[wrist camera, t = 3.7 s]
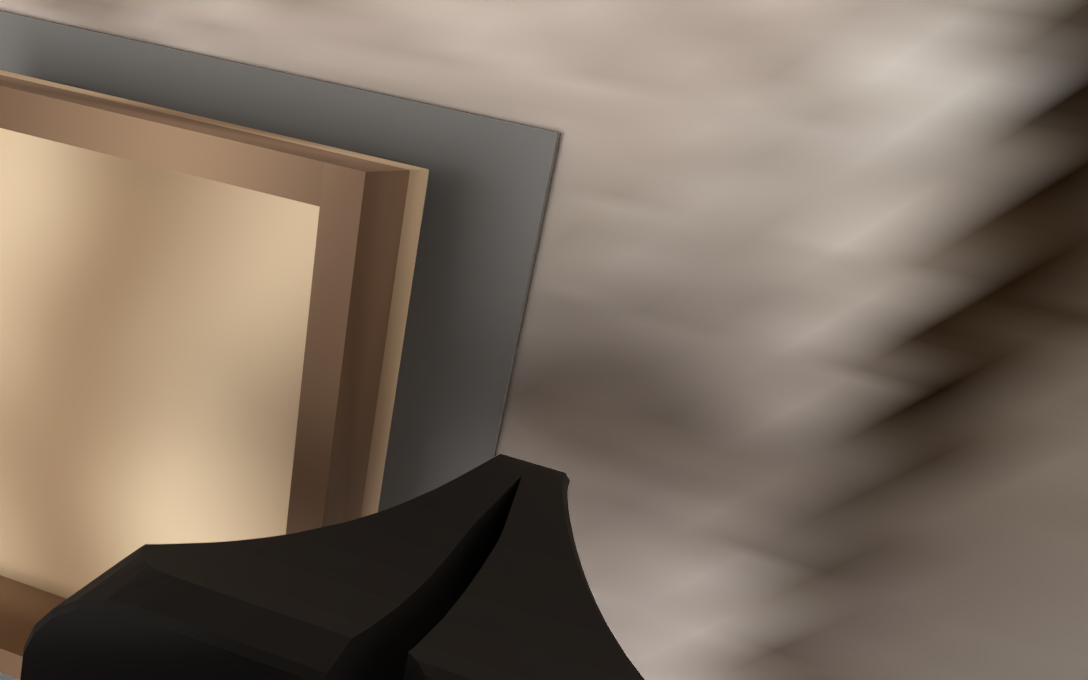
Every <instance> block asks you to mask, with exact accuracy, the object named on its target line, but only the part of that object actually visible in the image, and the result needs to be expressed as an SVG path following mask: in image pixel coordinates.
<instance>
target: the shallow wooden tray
mask: <svg viewBox="0 0 1088 680" xmlns="http://www.w3.org/2000/svg"><path fill="white" fill-rule="evenodd" d="M429 179H430V171H429V169H425V168H422V167H419V166H415V165H412V164H408V163H405V162H401V161H396V160H392V159H388V158H383V157H379V156H374V155H369V154H363V153H358V152H352V151H348V150H343V149H339V148H335V147H330V146H326V145H322V144H317V143H313V142H309V141H304V140H300V139H296V138H292V137H287V136H283V135H279V134H274V133H270V132H266V131H261V130H257V129H253V128H248V127H244V126H240V125H235V124H231V123H227V122H223V121H218V120H214V119H210V118H205V117H201V116H197V115H192V114H188V113H184V112H179V111H175V110H171V109H167V108H162V107H158V106H154V105H149V104H145V103H141V102H136V101H132V100H128V99H123V98H119V97H115V96H111V95H106V94H102V93H98V92H93V91H90V90H88V89H85V88H81V87H77V86H73V85H69V84H64V83H59V82H55V81H50V80H44V79H39V78H34V77H29V76H24V75H20V74H16V73H11V72H7V71H3V70H0V673H3V674H5V675H8V676H11V677H13V678H16V679H19V680H20V677H21V668H22V659H23V650H24V645H25V643H26V641H27V639H28V637H29V635H30V633H31V631H32V629H33V627H34V625H35V624H36V623H37V622H39V621H40V620H41V619H42V618H43V617H44V616H45V615H46V614H48V613H49V612H50V611H51V610H52V609H53V608H55V607H56V606H58V605H59V604H60V603H62V602H63V601H65V600H66V599H67V598H69V597H70V596H72V595H73V594H74V593H76V592H77V591H79V590H80V589H82V588H83V587H84V586H86V585H87V584H89V583H90V582H91V581H93V580H94V579H96V578H97V577H98V576H100V575H101V574H103V573H104V572H105V571H107V570H108V569H110V568H111V567H113V566H114V565H115V564H117V563H118V562H120V561H121V560H123V559H124V558H125V557H127V556H128V555H130V554H131V553H133V552H134V551H136V550H137V549H139V548H140V547H142V546H143V545H145V544H180V543H208V542H226V541H238V540H247V539H256V538H265V537H272V536H279V535H286V534H292V533H298V532H302V531H307V530H312V529H316V528H321V527H325V526H330V525H335V524H339V523H344V522H347V521H351V520H355V519H358V518H361V517H365V516H368V515H371V514H374V513H378V506H379V500H380V493H381V486H382V480H383V473H384V466H385V460H386V453H387V447H388V440H389V433H390V427H391V420H392V413H393V407H394V400H395V393H396V387H397V380H398V373H399V367H400V360H401V353H402V347H403V340H404V334H405V327H406V320H407V314H408V307H409V300H410V294H411V287H412V280H413V274H414V267H415V260H416V254H417V247H418V241H419V234H420V227H421V226H422V224H423V218H424V212H425V205H426V198H427V192H428V185H429Z"/></svg>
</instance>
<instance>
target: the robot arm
mask: <svg viewBox="0 0 1088 680" xmlns="http://www.w3.org/2000/svg"><path fill="white" fill-rule="evenodd" d="M568 485H569V479H568V477H567V475H566V473H563V472H560V471H557V470H553V469H550V468H546V467H543V466H540V465H536V464H533V463H529V462H526V461H523V460H519V459H516V458H512V457H509V456H506V455H502V454H500V455H498V456H496V457H494V458H492V459H490V460H488V461H486V462H485V463H483V464H481V465H479V466H477V467H476V468H474V469H472V470H470V471H468V472H467V473H465V474H463V475H461V476H459V477H458V478H456V479H454V480H452V481H450V482H448V483H446V484H444V485H442V486H440V487H438V488H436V489H434V490H432V491H429V492H427V493H425V494H423V495H420V496H418V497H416V498H413V499H411V500H409V501H407V502H404V503H402V504H400V505H397V506H394V507H392V508H389V509H386V510H383V511H380V512H378V513H374V514H371V515H368V516H365V517H361V518H358V519H355V520H351V521H347V522H344V523H339V524H335V525H330V526H325V527H321V528H316V529H312V530H307V531H302V532H298V533H292V534H286V535H279V536H272V537H265V538H256V539H247V540H238V541H226V542H208V543H180V544H145V545H143V546H142V547H140V548H139V549H137V550H136V551H134V552H133V553H131V554H130V555H128V556H127V557H125V558H124V559H123V560H121V561H120V562H118V563H117V564H115V565H114V566H113V567H111V568H110V569H108V570H107V571H105V572H104V573H103V574H101V575H100V576H98V577H97V578H96V579H94V580H93V581H91V582H90V583H89V584H87V585H86V586H84V587H83V588H82V589H80V590H79V591H77V592H76V593H74V594H73V595H72V596H70V597H69V598H67V599H66V600H65V601H63V602H62V603H60V604H59V605H58V606H56V607H55V608H53V609H52V610H51V611H50V612H49V613H48V614H46V615H45V616H44V617H43V618H42V619H41V620H40V621H39V622H37V623H36V624H35V625H34V627H33V629H32V631H31V633H30V635H29V637H28V639H27V641H26V643H25V645H24V650H23V659H22V668H21V677H20V680H644V679H643V677H642V676H641V675H640V673H639V672H638V671H637V669H636V668H635V667H634V665H633V664H632V663H631V661H630V660H629V659H628V657H627V656H626V655H625V653H624V651H623V650H622V648H621V647H620V645H619V643H618V642H617V640H616V639H615V637H614V635H613V634H612V632H611V631H610V629H609V627H608V626H607V624H606V622H605V620H604V618H603V616H602V614H601V612H600V610H599V608H598V606H597V604H596V601H595V599H594V597H593V595H592V592H591V590H590V588H589V585H588V583H587V580H586V577H585V575H584V572H583V569H582V566H581V563H580V559H579V556H578V553H577V550H576V546H575V542H574V538H573V533H572V528H571V523H570V517H569V510H568V499H567V490H568Z"/></svg>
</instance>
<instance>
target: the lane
mask: <svg viewBox="0 0 1088 680" xmlns="http://www.w3.org/2000/svg"><path fill="white" fill-rule="evenodd" d="M0 70H3V71H7V72H11V73H16V74H20V75H24V76H29V77H34V78H39V79H44V80H50V81H55V82H59V83H64V84H69V85H73V86H77V87H81V88H85V89H88V90H90V91H93V92H98V93H102V94H106V95H111V96H115V97H119V98H123V99H128V100H132V101H136V102H141V103H145V104H149V105H154V106H158V107H162V108H167V109H171V110H175V111H179V112H184V113H188V114H192V115H197V116H201V117H205V118H210V119H214V120H218V121H223V122H227V123H231V124H235V125H240V126H244V127H248V128H253V129H257V130H261V131H266V132H270V133H274V134H279V135H283V136H287V137H292V138H296V139H300V140H304V141H309V142H313V143H317V144H322V145H326V146H330V147H335V148H339V149H343V150H348V151H352V152H358V153H363V154H369V155H374V156H379V157H383V158H388V159H392V160H396V161H401V162H405V163H408V164H412V165H415V166H419V167H422V168H425V169H429V171H430V179H429V185H428V192H427V198H426V205H425V212H424V218H423V224H422V226H421V227H420V234H419V241H418V247H417V254H416V260H415V267H414V274H413V280H412V287H411V294H410V300H409V307H408V314H407V320H406V327H405V334H404V340H403V347H402V353H401V360H400V367H399V373H398V380H397V387H396V393H395V400H394V407H393V413H392V420H391V427H390V433H389V440H388V447H387V453H386V460H385V466H384V473H383V480H382V486H381V493H380V500H379V506H378V512H380V511H383V510H386V509H389V508H392V507H394V506H397V505H400V504H402V503H404V502H407V501H409V500H411V499H413V498H416V497H418V496H420V495H423V494H425V493H427V492H429V491H432V490H434V489H436V488H438V487H440V486H442V485H444V484H446V483H448V482H450V481H452V480H454V479H456V478H458V477H459V476H461V475H463V474H465V473H467V472H468V471H470V470H472V469H474V468H476V467H477V466H479V465H481V464H483V463H485V462H486V461H488V460H490V459H492V458H494V456H495V451H496V446H497V441H498V436H499V431H500V426H501V422H502V417H503V412H504V407H505V402H506V397H507V392H508V387H509V383H510V378H511V373H512V368H513V363H514V358H515V353H516V348H517V344H518V339H519V334H520V329H521V324H522V319H523V314H524V309H525V305H526V300H527V295H528V290H529V285H530V280H531V275H532V270H533V266H534V261H535V256H536V251H537V246H538V241H539V236H540V231H541V227H542V222H543V217H544V212H545V207H546V202H547V197H548V193H549V188H550V183H551V178H552V173H553V168H554V163H555V158H556V154H557V149H558V144H559V139H560V134H561V133H558V132H554V131H549V130H544V129H540V128H535V127H531V126H526V125H522V124H517V123H512V122H508V121H503V120H499V119H494V118H489V117H485V116H480V115H476V114H471V113H466V112H462V111H457V110H453V109H448V108H443V107H439V106H434V105H430V104H425V103H420V102H416V101H411V100H407V99H402V98H397V97H393V96H388V95H384V94H379V93H375V92H370V91H365V90H361V89H356V88H352V87H347V86H342V85H338V84H333V83H329V82H324V81H319V80H315V79H310V78H306V77H301V76H296V75H292V74H287V73H283V72H278V71H273V70H269V69H264V68H260V67H255V66H250V65H246V64H241V63H237V62H232V61H228V60H223V59H218V58H214V57H209V56H205V55H200V54H195V53H191V52H186V51H182V50H177V49H172V48H168V47H163V46H159V45H154V44H149V43H145V42H140V41H136V40H131V39H126V38H122V37H117V36H113V35H108V34H103V33H99V32H94V31H90V30H85V29H81V28H76V27H71V26H67V25H62V24H58V23H53V22H48V21H44V20H39V19H35V18H30V17H25V16H21V15H16V14H12V13H7V12H2V11H0Z"/></svg>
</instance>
